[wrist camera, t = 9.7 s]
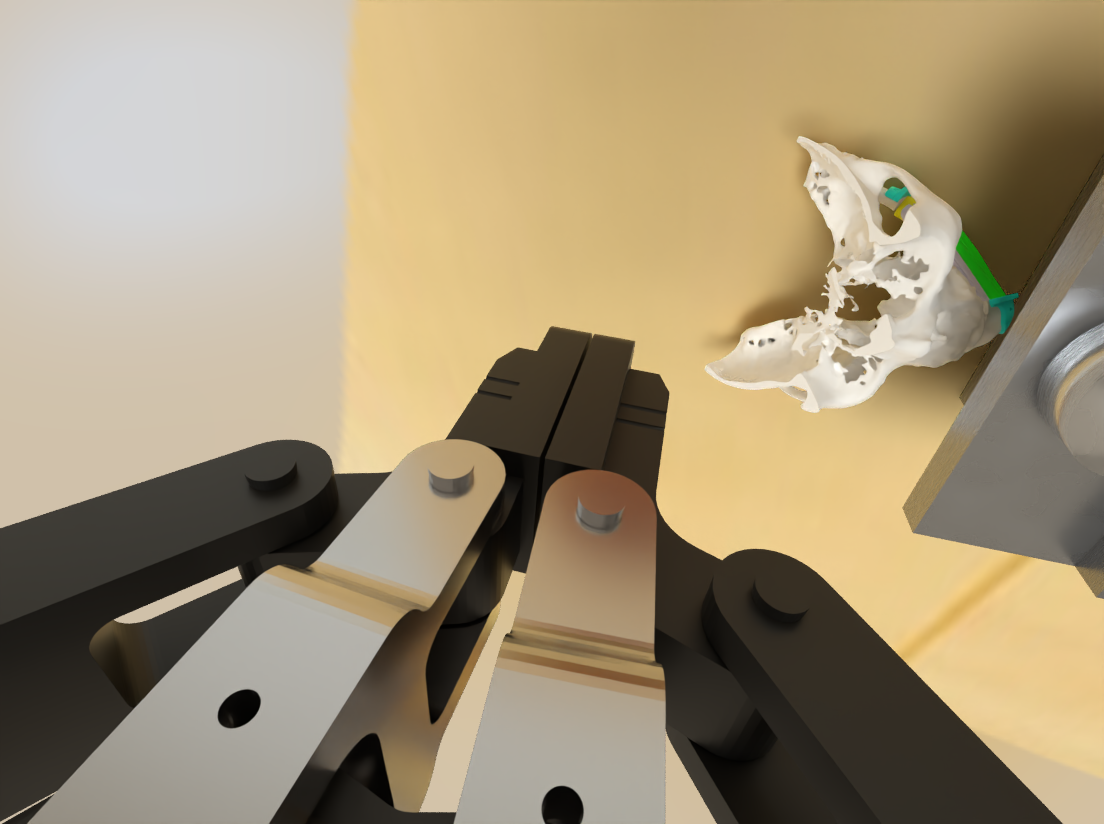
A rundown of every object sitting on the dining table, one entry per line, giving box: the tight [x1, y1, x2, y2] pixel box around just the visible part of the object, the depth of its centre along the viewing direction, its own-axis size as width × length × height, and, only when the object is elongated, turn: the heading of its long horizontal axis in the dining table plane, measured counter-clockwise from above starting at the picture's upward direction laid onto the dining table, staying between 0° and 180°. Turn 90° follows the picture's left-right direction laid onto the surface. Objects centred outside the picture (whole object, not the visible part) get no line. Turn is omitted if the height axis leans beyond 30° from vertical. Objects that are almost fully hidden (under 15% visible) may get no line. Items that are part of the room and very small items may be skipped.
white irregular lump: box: [705, 136, 1019, 413], centre depth 27 cm, size 12×9×10 cm
